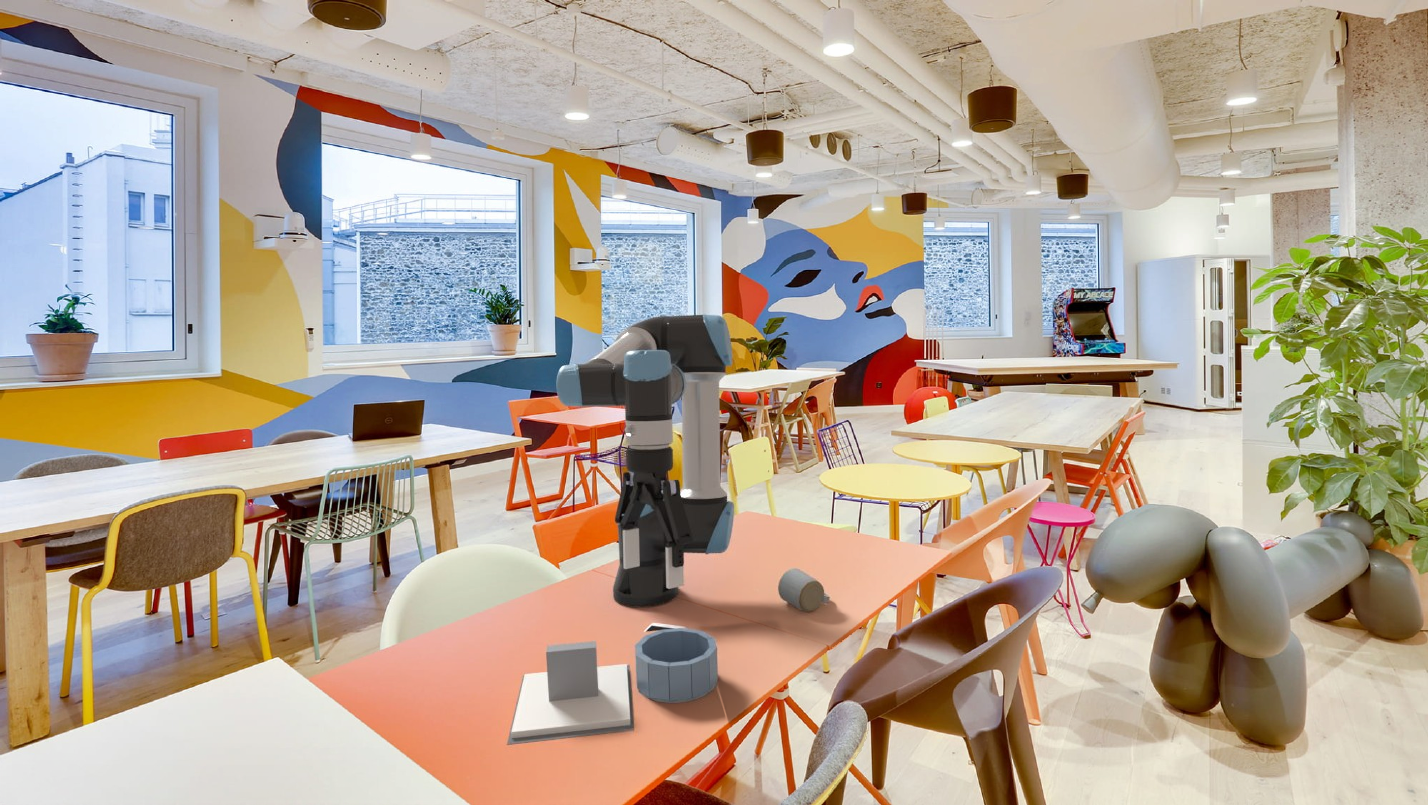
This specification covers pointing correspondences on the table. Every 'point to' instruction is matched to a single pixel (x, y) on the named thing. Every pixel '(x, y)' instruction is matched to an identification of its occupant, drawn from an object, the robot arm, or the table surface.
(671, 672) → the bowl
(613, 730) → the mat
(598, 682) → the lid
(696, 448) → the robot arm
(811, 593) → the ceramic mug
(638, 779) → the table surface
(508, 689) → the table surface
